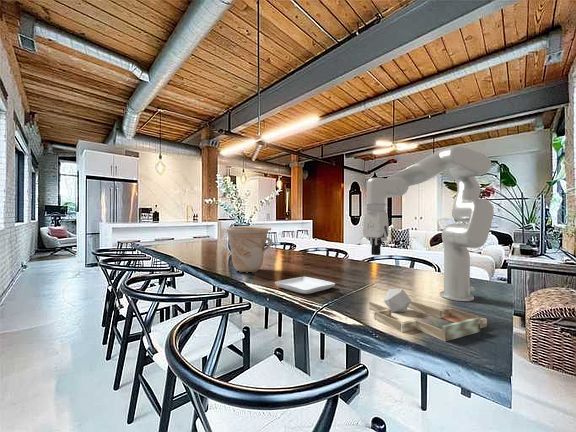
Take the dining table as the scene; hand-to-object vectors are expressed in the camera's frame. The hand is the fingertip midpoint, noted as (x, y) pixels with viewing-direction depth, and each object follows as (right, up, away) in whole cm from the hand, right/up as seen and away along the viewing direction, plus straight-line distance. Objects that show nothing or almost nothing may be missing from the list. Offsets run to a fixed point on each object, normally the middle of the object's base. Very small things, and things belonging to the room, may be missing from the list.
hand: (375, 254), depth 114 cm
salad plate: (-27, -19, +21) cm, 40 cm away
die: (+5, -19, -10) cm, 22 cm away
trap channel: (+9, -19, -18) cm, 28 cm away
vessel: (-60, -19, +62) cm, 89 cm away
